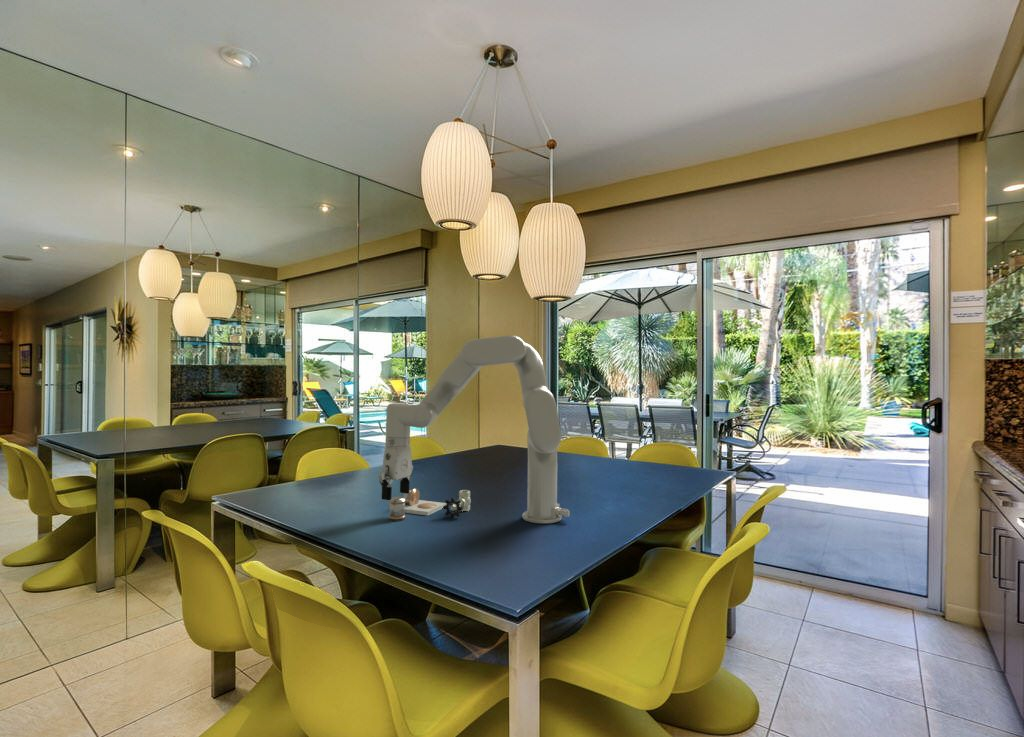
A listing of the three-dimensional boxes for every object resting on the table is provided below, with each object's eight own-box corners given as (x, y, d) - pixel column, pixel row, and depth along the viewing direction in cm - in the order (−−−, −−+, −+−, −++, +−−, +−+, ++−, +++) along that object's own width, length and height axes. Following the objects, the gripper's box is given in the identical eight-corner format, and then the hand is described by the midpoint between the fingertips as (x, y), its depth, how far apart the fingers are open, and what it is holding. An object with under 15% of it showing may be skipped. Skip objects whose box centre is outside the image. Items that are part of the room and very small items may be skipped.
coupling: (408, 517, 160) (409, 497, 160) (399, 522, 155) (399, 501, 155) (395, 515, 162) (395, 495, 162) (385, 520, 157) (385, 499, 157)
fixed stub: (419, 506, 174) (419, 487, 174) (409, 510, 169) (410, 490, 169) (410, 504, 176) (410, 486, 176) (400, 509, 170) (400, 489, 170)
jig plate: (446, 506, 174) (446, 502, 174) (427, 515, 163) (428, 511, 163) (416, 503, 178) (416, 499, 178) (396, 511, 167) (396, 507, 167)
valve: (458, 508, 173) (442, 517, 161) (458, 489, 173) (443, 497, 161) (475, 509, 170) (461, 519, 159) (476, 490, 171) (461, 498, 159)
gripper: (391, 446, 150) (389, 503, 149) (422, 440, 166) (420, 492, 165) (370, 444, 152) (368, 500, 152) (403, 438, 169) (401, 489, 168)
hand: (395, 496), depth 159 cm, fingers open, 9 cm apart
